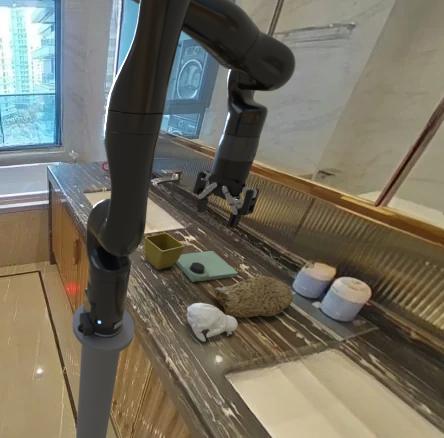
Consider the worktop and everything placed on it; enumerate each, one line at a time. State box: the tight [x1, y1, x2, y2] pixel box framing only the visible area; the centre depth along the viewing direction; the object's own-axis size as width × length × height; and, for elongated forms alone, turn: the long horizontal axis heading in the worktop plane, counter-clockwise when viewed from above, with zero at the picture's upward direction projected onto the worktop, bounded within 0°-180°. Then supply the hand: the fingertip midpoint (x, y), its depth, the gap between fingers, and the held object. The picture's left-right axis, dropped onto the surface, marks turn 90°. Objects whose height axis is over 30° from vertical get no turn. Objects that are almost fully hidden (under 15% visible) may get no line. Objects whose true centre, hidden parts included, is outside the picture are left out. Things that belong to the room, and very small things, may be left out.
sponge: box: [214, 275, 294, 319], centre depth 76 cm, size 13×8×20 cm
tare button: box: [190, 262, 205, 274], centre depth 86 cm, size 4×4×2 cm
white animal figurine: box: [186, 302, 239, 342], centre depth 68 cm, size 6×8×12 cm
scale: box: [175, 250, 239, 283], centre depth 90 cm, size 16×13×3 cm
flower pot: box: [144, 232, 186, 271], centre depth 91 cm, size 9×9×9 cm
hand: (215, 219), depth 70 cm, fingers open, 8 cm apart
